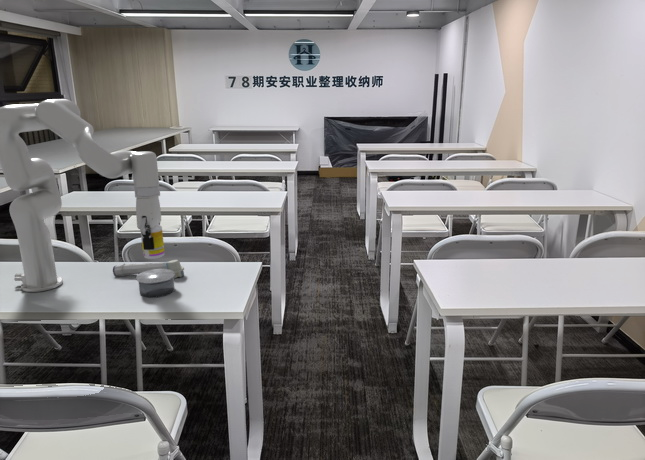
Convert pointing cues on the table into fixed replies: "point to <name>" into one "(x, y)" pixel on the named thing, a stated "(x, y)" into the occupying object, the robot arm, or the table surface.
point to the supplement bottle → (155, 244)
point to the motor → (156, 282)
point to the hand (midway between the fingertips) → (153, 245)
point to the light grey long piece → (148, 268)
